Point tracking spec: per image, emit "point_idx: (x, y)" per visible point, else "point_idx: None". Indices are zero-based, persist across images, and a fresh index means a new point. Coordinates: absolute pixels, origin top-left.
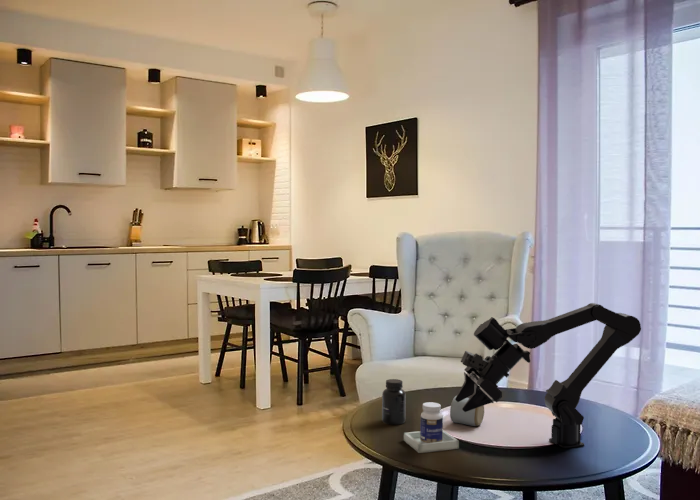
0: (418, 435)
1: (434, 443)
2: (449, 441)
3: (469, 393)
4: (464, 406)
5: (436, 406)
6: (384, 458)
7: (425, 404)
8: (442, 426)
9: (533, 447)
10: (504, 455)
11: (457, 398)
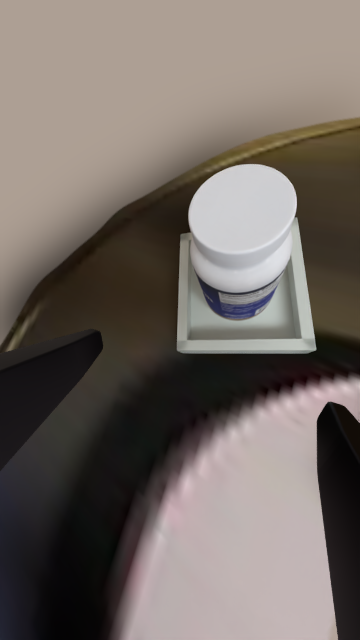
0: (289, 265)
1: (179, 274)
2: (180, 320)
3: (349, 604)
4: (72, 334)
5: (198, 221)
6: (181, 177)
7: (248, 175)
8: (215, 300)
9: (110, 615)
10: (95, 450)
11: (329, 420)
